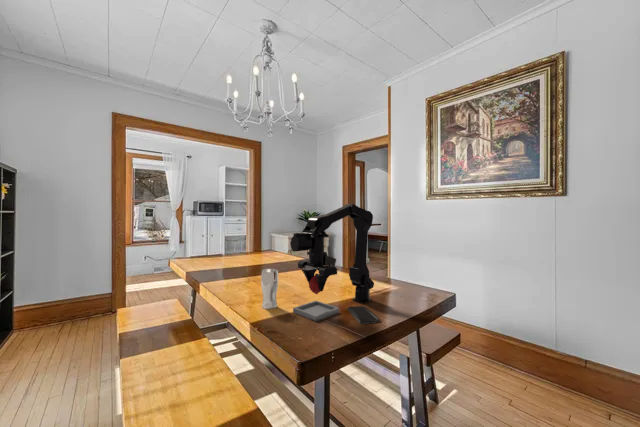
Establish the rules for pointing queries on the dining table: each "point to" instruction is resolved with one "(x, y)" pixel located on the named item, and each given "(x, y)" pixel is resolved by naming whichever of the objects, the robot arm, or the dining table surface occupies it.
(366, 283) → the robot arm
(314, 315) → the tray
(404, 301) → the dining table surface
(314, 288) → the onion
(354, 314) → the phone
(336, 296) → the dining table surface
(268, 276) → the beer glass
